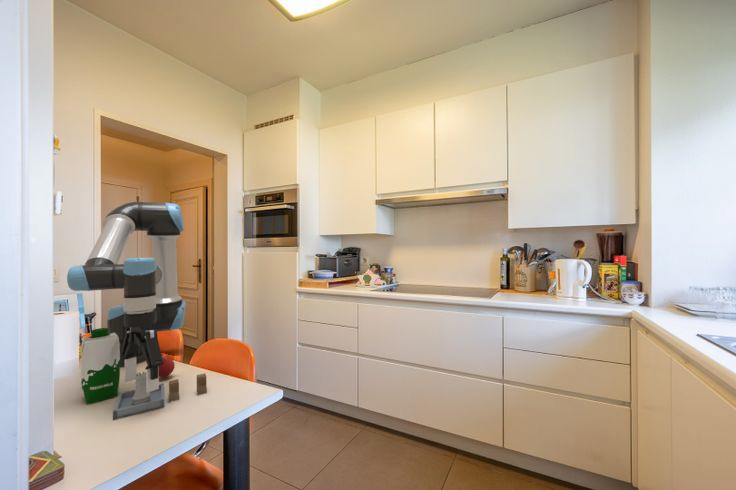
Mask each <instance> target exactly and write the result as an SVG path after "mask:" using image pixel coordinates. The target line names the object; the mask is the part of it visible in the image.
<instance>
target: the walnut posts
mask: <svg viewBox="0 0 736 490" xmlns="http://www.w3.org/2000/svg"><path fill="white" fill-rule="evenodd" d="M207 388H208V387H207V374H206V373H199V374H196V394H197V396H199V395H204V394H207ZM179 400H180V380H179V378H176V379H172V380H169V381H168V402H169V403H170V402H174V401H179Z"/></svg>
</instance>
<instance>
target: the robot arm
mask: <svg viewBox="0 0 736 490" xmlns="http://www.w3.org/2000/svg"><path fill="white" fill-rule="evenodd" d="M102 227H103V229H102V230H101V233H100V235H99V236H98V238H97V240H96V242H95V244H94V246H93V249H92V250H91V252H90V254H89V255H88V258H87V260H86V261H85V263H84V265H83V264H80V265H73V266H71V267H70V268H69V269H68V271H67V276H66V282H67V286H68V288H69V289H70V290H71V291H74V292H75V291H76V292H82V291H84V292H86V291H87V292H92V291H104V290H115V289H116V290H117V289H121V290H122V289H123V303H122V304H119V305H115V306H112V307H110V308H109V309H108V311H107V318H106V321H107V322H106V323H107V328H108V334H109V333H110V334H111V333H115V334H116V335H118V337H119V343H120V346H119V348H120V368H122V367H124V383H129V382H131V381H134V380H135V379H134V378H135V376H136V374H137V364H139V363H142V362H144V361H145V362H146V367H144V368H145V372H146V392H147V393H149V392H151V391H154V390H157V389H159V383H160V381H159V380H160V377H159V365H162V364H163V359H162V357H163V355H162V350H161V347H160V342H159V339H158V332H167V331H169V332H171V331H173V330H179V329H181V328H182V327H183V325H184V322H185V316H186V315H185V314H186V308H187V307H186V305H187V302H186V301H184V300H183V298H182V296H180V295H179V292H178V291H179V290H178V263H177V262H178V259H177V257H178V256H177V252H178V251H177V239H178V238H179V237H181V232H184V231H185V222H184V217H183V212H182V208H181V206H180V205H178V204H177V203H171V202H151V201H147V202H146V201H144V202H143V201H132V202H127V203H124V204H122V205H120V206H117V207H115V208H114V209H113V210H111V211H110V212H109V213H107V215H106V216H105V218H104V220H103V221H102ZM137 231H138V232H139V231H141V232H146V236H147V237H148V238H149V239H151V257H129V258H128V257H127V258H125V259H124V261H123V264H121V263H120V264H119V262H120V259H121V256H122V254H123V252H124V249H125V246H126V243H127V241H128V238H129V237H130V236H131V235H132V234H133V233H134V232H137ZM135 381H136V380H135Z"/></svg>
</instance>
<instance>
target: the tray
mask: <svg viewBox="0 0 736 490" xmlns="http://www.w3.org/2000/svg"><path fill="white" fill-rule="evenodd" d="M135 390H136V389H133V390H127V391H122V392H118V396H117V399H116V402H115V404H114V405H115V406H114V408H113V410H112V420H113V421H115V420H119V419H123V418H127V417H132V416H134V415H135V416H136V415H139V414H143V413H146V412H150V411H155V410H159V409H163V408H165V383H160V384H159V389H157V390H154V391H151V392H149V393H150V397H151V398H150V400H149V401H148V402H146V403H142V404H138V405H134V404H132V403H131V402H132V401H133V400H132V397H133V396H134V394H135Z"/></svg>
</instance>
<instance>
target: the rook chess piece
mask: <svg viewBox="0 0 736 490" xmlns="http://www.w3.org/2000/svg"><path fill="white" fill-rule="evenodd" d="M134 379H135V383H134V385H135V389H134V390H135V394H134V396H133V397H132V400H133V401H132V402H131V403H132V404H134V405H138V404H142V403H146V402H148V401H149V400H150V398H151V397H150V393H147V392H146V371H142V373H141V372H138V373H137V374H136V376H135V378H134Z"/></svg>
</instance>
